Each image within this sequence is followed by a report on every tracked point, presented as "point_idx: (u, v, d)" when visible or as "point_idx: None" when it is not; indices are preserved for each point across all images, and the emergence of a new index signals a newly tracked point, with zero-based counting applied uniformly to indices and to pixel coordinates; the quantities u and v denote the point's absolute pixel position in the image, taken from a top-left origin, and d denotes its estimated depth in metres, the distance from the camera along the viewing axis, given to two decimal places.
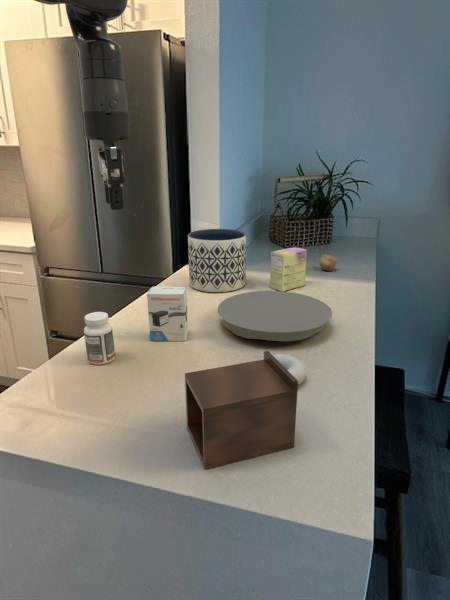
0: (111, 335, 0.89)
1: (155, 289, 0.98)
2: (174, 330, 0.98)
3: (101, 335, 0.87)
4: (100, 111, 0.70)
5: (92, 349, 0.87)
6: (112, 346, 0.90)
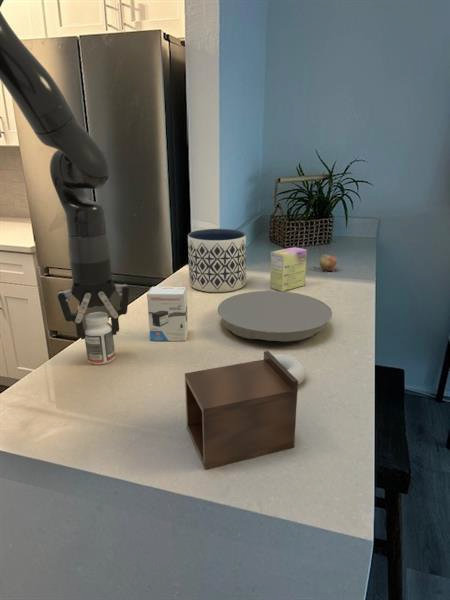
0: (111, 335, 0.89)
1: (155, 289, 0.98)
2: (174, 330, 0.98)
3: (101, 335, 0.87)
4: (109, 258, 0.84)
5: (92, 349, 0.87)
6: (112, 346, 0.90)
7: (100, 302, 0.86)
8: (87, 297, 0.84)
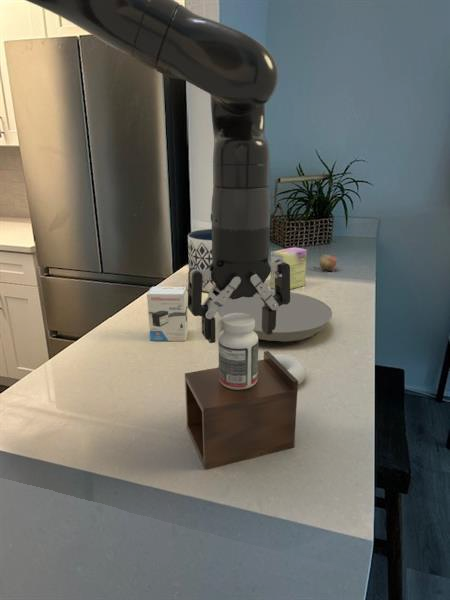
0: (257, 347, 0.61)
1: (155, 289, 0.98)
2: (174, 330, 0.98)
3: (248, 347, 0.59)
4: None
5: (232, 367, 0.60)
6: (257, 363, 0.62)
7: (249, 291, 0.58)
8: (235, 283, 0.56)
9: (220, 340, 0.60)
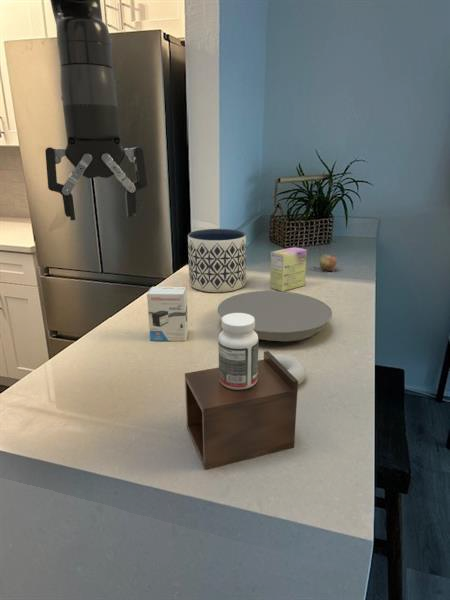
0: (257, 347, 0.61)
1: (155, 289, 0.98)
2: (174, 330, 0.98)
3: (248, 347, 0.59)
4: (117, 107, 0.61)
5: (232, 367, 0.60)
6: (257, 363, 0.62)
7: (104, 171, 0.64)
8: (87, 160, 0.62)
9: (220, 340, 0.60)
